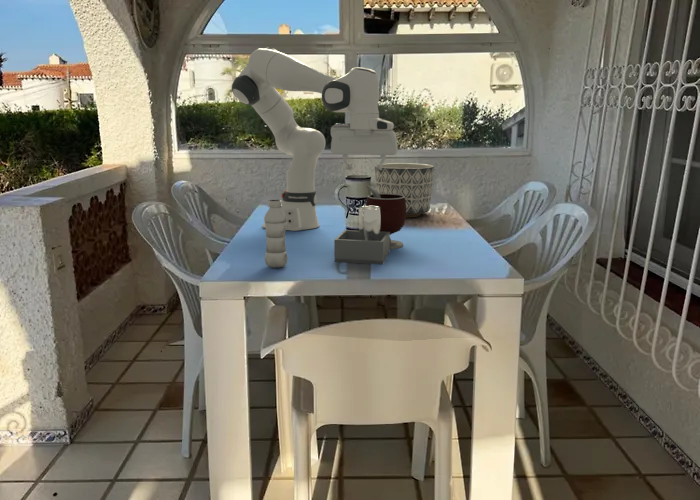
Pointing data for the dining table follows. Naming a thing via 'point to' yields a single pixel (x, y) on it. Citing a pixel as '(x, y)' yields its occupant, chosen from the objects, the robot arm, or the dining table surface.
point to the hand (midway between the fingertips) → (364, 169)
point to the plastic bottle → (275, 235)
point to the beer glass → (369, 222)
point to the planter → (407, 184)
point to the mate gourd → (389, 213)
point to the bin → (361, 248)
